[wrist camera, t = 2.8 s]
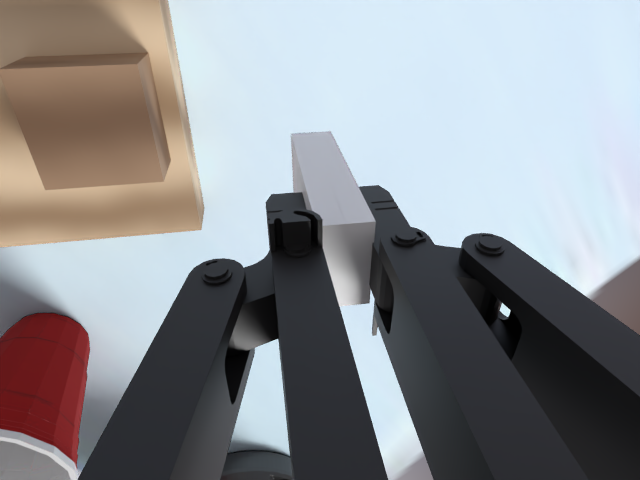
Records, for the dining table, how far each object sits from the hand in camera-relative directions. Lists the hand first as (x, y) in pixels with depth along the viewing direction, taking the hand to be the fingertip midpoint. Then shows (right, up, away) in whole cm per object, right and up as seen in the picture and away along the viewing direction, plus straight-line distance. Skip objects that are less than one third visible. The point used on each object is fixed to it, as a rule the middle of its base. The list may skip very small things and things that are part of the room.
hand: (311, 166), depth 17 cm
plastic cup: (-22, -11, +19) cm, 31 cm away
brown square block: (-12, +4, +7) cm, 14 cm away
